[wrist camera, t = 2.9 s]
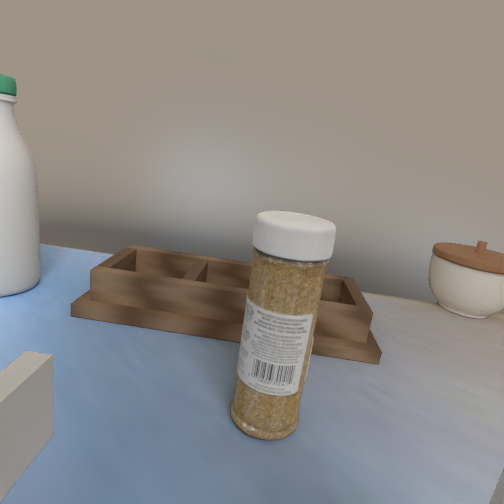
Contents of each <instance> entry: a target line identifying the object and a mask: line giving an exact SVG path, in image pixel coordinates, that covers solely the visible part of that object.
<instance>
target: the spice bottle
mask: <svg viewBox="0 0 504 504" xmlns="http://www.w3.org/2000/svg"><path fill="white" fill-rule="evenodd" d="M335 235H336V227H335V225H334V224H333V223H332V222H330V221H328V220H325V219H322V218H319V217H315V216H311V215H306V214H301V213H294V212H285V211H266V212H261V213H259V214H258V215H257V217H256V221H255V226H254V233H253V240H252V243H253V245H254V248H253V253H254V256H253V264H252V271H251V278H250V284H249V291H248V293H247V299H246V307H245V315H244V322H243V329H242V336H241V343H240V350H239V358H238V364H237V379H236V386H235V394H234V399H233V401H232V404H231V417H232V419H233V421H234V422H235V423H236V425H237V426H238V427H239V428H240V429H241V430H242V431H243V432H245V433H246V434H248V435H250V436H253V437H256V438H260V439H266V440H276V439H281V438H284V437H286V436H287V435H289V434H291V433H292V432H293V431H294V430H295V429H296V427H297V424H298V421H299V417H298V410H299V406H300V399H301V395H302V390H303V385H304V382H305V380H306V376H307V371H308V366H309V361H310V356H311V351H312V346H313V340H314V337H313V334H314V330H315V325H316V320H317V314H318V308H319V304H320V298H321V290H322V286H323V279H324V276H325V268H326V265H327V264H328V263H329V260H328V258H330V257H331V256H332V252H333V247H334V241H335Z"/></svg>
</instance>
